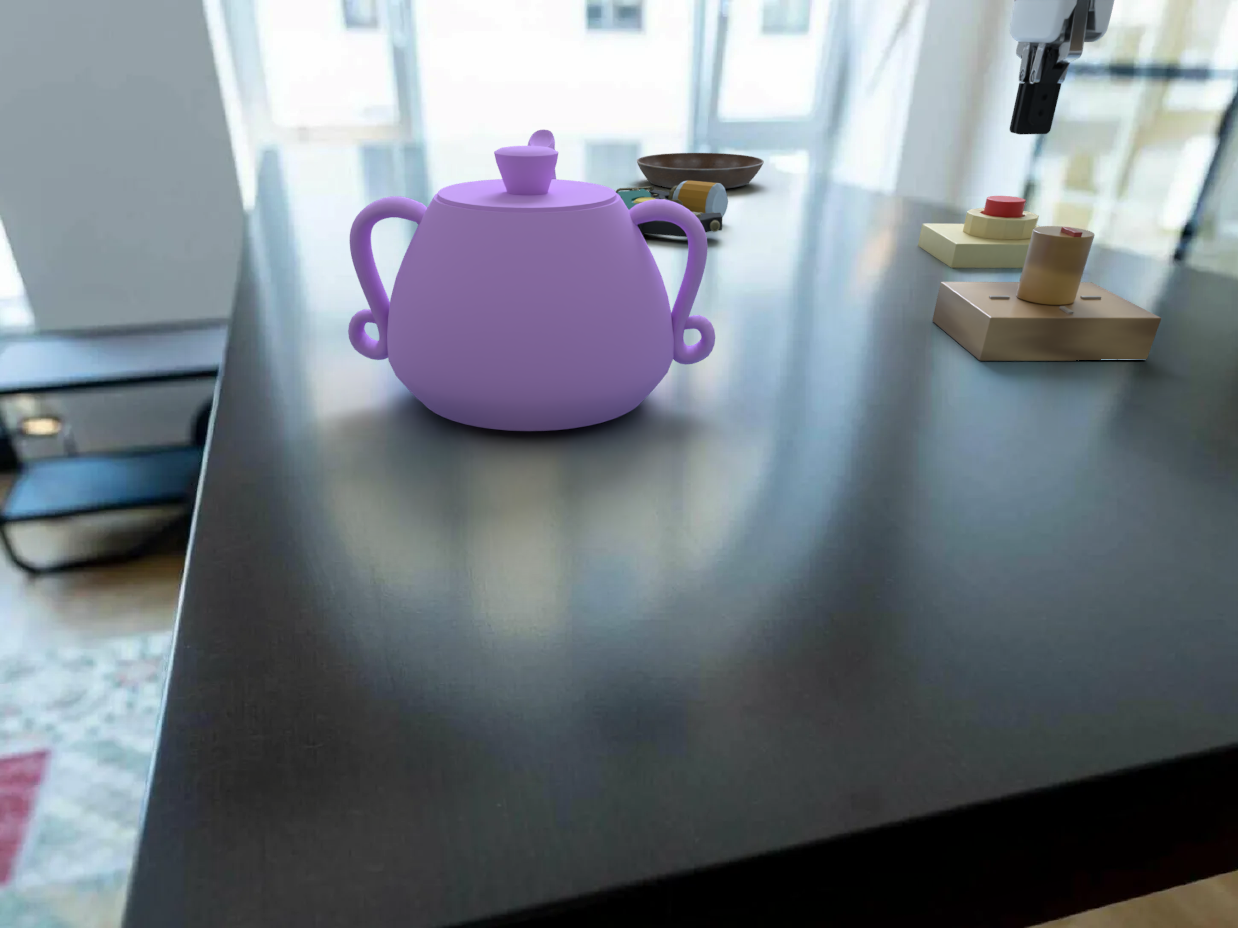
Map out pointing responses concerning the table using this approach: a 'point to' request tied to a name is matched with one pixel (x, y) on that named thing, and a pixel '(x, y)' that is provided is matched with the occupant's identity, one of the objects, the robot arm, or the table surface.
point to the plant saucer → (699, 168)
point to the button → (1004, 206)
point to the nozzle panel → (1043, 324)
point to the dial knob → (1054, 265)
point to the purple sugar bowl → (529, 298)
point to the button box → (980, 240)
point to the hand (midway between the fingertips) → (1029, 132)
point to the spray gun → (693, 195)
